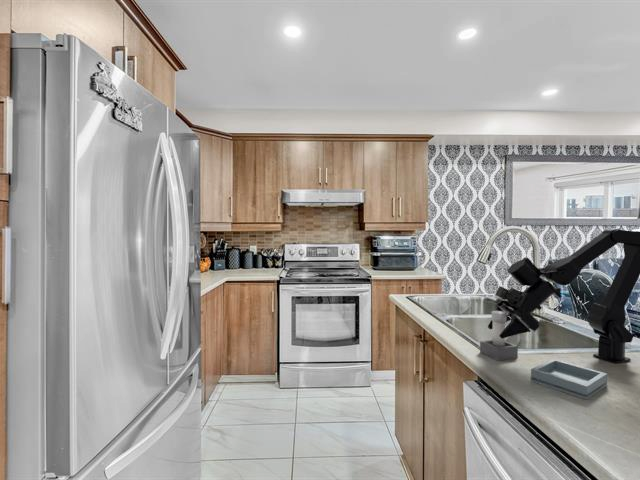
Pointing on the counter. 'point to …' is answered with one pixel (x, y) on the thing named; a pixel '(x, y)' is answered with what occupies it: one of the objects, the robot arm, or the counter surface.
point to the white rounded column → (498, 328)
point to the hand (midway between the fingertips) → (494, 332)
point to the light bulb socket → (499, 350)
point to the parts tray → (569, 378)
